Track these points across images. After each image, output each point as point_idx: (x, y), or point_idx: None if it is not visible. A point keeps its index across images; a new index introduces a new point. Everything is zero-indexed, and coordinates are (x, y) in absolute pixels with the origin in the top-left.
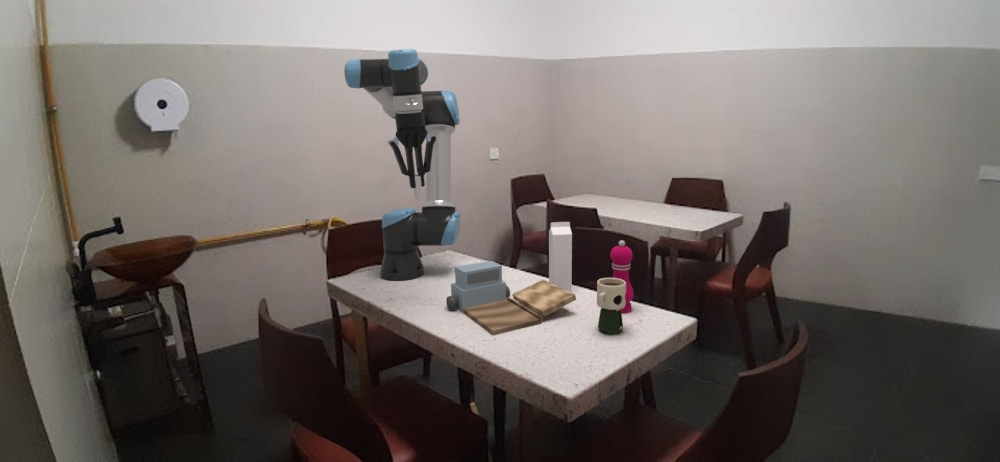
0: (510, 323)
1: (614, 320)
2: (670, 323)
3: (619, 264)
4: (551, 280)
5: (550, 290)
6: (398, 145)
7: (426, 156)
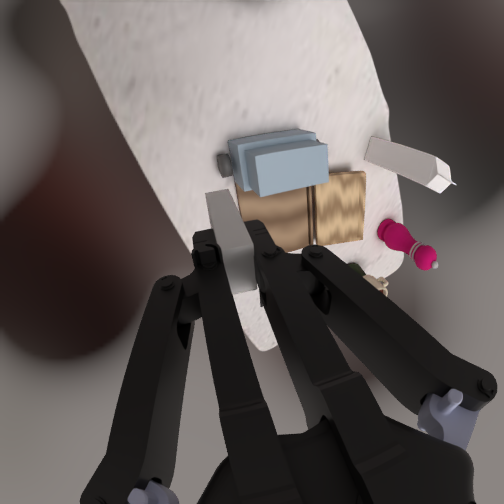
0: None
1: None
2: (389, 267)
3: (414, 259)
4: (377, 156)
5: (353, 208)
6: (171, 491)
7: (355, 337)
